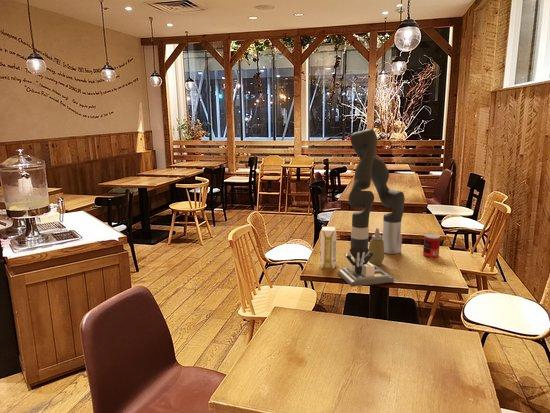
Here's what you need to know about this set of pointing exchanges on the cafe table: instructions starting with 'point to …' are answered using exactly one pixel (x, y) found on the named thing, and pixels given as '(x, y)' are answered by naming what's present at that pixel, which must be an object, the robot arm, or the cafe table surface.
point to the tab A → (351, 266)
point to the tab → (368, 270)
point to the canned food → (431, 245)
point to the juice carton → (328, 247)
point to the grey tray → (360, 280)
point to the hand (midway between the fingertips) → (358, 273)
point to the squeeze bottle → (376, 248)
